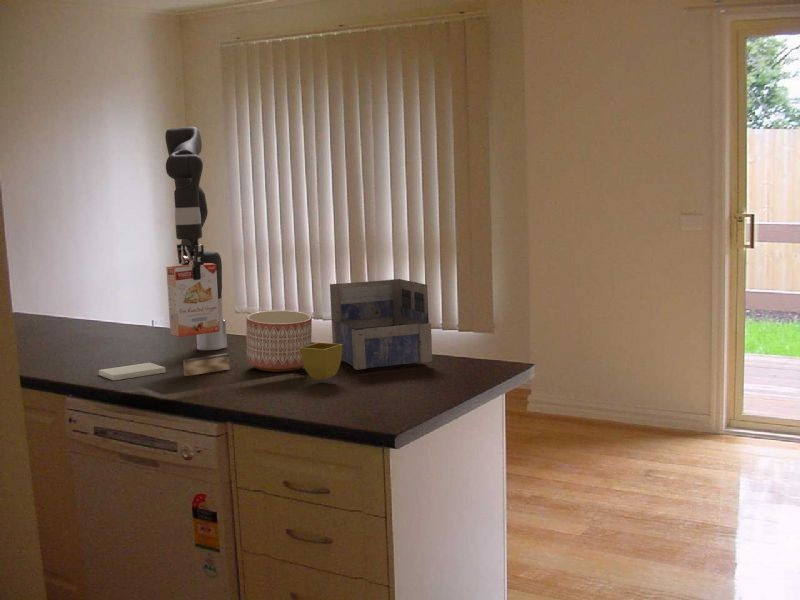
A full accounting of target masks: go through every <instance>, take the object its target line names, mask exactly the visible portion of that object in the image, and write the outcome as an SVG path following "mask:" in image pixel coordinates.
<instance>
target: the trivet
mask: <svg viewBox="0 0 800 600" xmlns="http://www.w3.org/2000/svg"><path fill="white" fill-rule="evenodd" d="M166 372H167V370H166V366H161V365H159V364H157V363H152V362H145V363H137V364H132V365H131V364H130V365H125V366H119V367H118V366H117V367H110V368H104V369H98V375H99V376H101V377H103V378H105V379H109V380H111V381H118V380H119V381H120V380H125V379H132V378H139V377H144V376H152V375H159V374H164V373H166Z"/></svg>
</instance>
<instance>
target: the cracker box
mask: <svg viewBox="0 0 800 600" xmlns="http://www.w3.org/2000/svg"><path fill="white" fill-rule="evenodd" d="M192 268H193V267H192V264H190V265H173V266H166V281H167V282H166V284H167V298H168V301H167V302H168V316H169V329H170V330H169V331H170V332H169V333H170V336H173V337H177V338H184V337H190V336H197V335H199V334H206V333H212V332H219V331H220V327H219V308H218V288H217V269H216V264H213V263H204V264H203V265H201V267H200V273H201V279H200V280H194V279H193V272H192Z"/></svg>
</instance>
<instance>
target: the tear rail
mask: <svg viewBox="0 0 800 600" xmlns="http://www.w3.org/2000/svg"><path fill="white" fill-rule="evenodd" d="M182 362H183V363H182V364H183V375H184V376H185V377H189V376H195V375H200V374H201V375H202V374H208V373H213V372H221V371H226V370H227V371H228V370H230V369H231V366H230V354H229V353H221V354H214V355H213V354H212V355H207V356H201V357H195V358H186V359H182Z"/></svg>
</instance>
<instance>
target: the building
mask: <svg viewBox="0 0 800 600" xmlns="http://www.w3.org/2000/svg"><path fill="white" fill-rule="evenodd" d="M428 290H429V289H428V284H426V283H421V282H418V281H417V282H416V281H410V280H407V279H402V278H397V279H394V278H393V279H385V280H384V279H383V280H381V279H380V280H369V281H358V282H342V283H330V284H329V292H330V293H329V294H330V313H331V316H330V317H331V335H332V343H333V344H342V356H341V362H342V361H343V362H344V363H347V364H349V365H350V366H352V367H353V369H354V370H355V371H357V370H365V369H368V368H369V369H370V368H378V367H389V366H397V365H398V366H399V365H406V364H407V365H409V364H415V363H417V364H418V363H423V364H424V363H429V362H430V363H431V362H433V343H432V323H431V322H430V321H429V300H428V297H429V292H428Z"/></svg>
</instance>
